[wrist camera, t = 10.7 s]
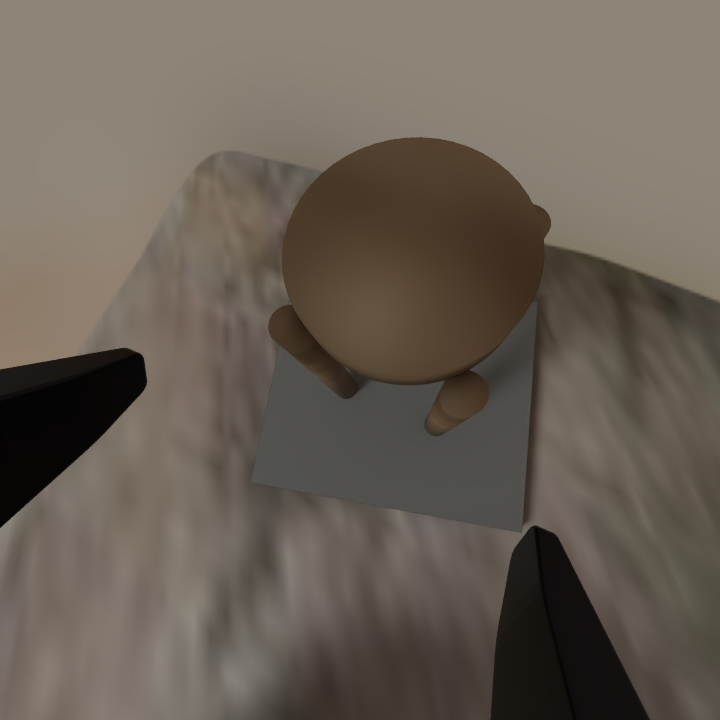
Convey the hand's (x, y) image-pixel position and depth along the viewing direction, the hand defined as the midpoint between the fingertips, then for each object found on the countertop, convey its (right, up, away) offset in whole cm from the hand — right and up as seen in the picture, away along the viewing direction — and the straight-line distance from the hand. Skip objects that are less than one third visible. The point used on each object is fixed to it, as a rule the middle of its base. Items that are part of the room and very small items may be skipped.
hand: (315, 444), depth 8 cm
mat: (+3, 0, +14) cm, 14 cm away
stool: (+4, +2, +13) cm, 14 cm away
